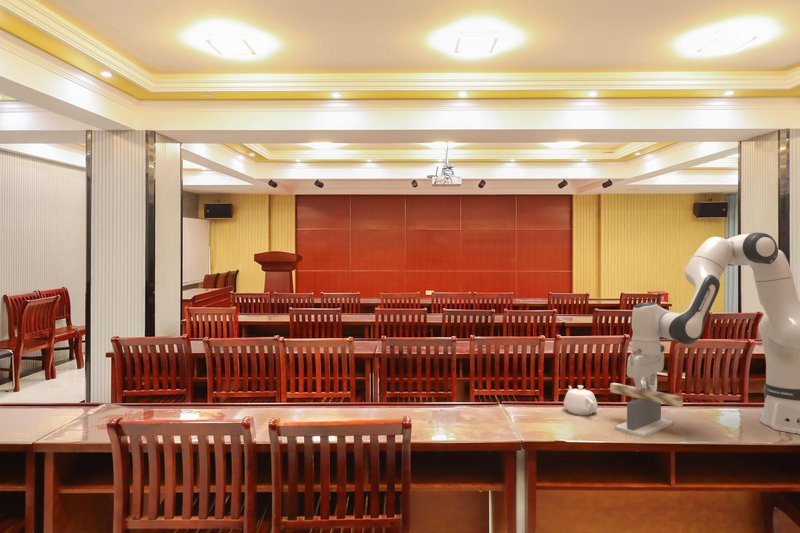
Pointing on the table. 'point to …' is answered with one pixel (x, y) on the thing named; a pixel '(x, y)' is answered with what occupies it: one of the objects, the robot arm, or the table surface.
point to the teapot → (580, 401)
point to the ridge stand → (643, 418)
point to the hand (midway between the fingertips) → (645, 387)
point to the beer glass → (645, 383)
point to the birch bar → (647, 394)
